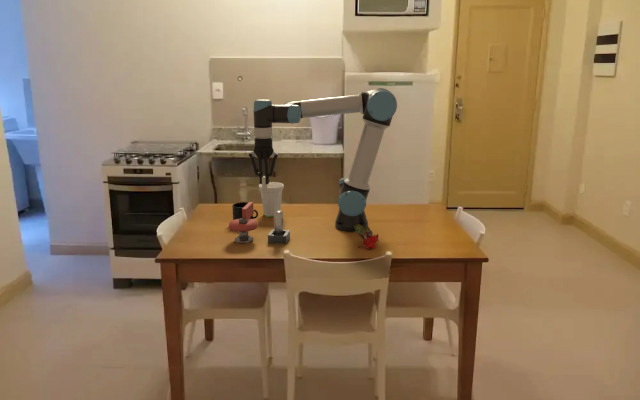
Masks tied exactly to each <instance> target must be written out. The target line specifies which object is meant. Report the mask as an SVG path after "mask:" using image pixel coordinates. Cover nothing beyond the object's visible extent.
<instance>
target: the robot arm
mask: <svg viewBox="0 0 640 400" xmlns="http://www.w3.org/2000/svg"><path fill="white" fill-rule="evenodd" d="M397 108H398V102H397V98H396V97H395V95H394V94H393V93H392V92H391V91H390V90H388V89H386V88H381V87H379V88H375V89H371V90H367V91H366V90H364V91H360V92H359V93H358V94H352V95H343V96H336V97H335V96H334V97H325V98H316V99H315V98H313V99H308V100H307V99H306V100H297V101H292V100H291V101H287V102H285V103H283V104H273V102H272V100H271V99H263V98H262V99H256V100H254V101H253V111H252V112H253V131H254V132H253V133H254V135H253V136H254V139H253V140H254V148H253V151H251V152H249V153H248V157H249V158H250V160H251V165H252V167H253V171H254V174H255V176H258V177H259V184H262V192H266V191H267V184H269V182H270V177H272V176H273V175H274V171H275V168H276V163H277V159H278V157H279V156H280V153H278V152H276V151H275V150H274V148H273V137H272V136H273V124H291V125H292V124H299V123H300V122H301V119H307V118H316V117H318V118H319V117H328V116H336V115H345V114H357V113H358V114H359V113H360V114H362V120H363V122H364V125H363V128H362V131H361V135H360V138H359V142H358V145H357V148H356V152H355V155H354V158H353V162H352V165H351V169H350V172H349V174H348V176H347V177H342V178H340V179H339V180H338V181H339V182H338V188H339V189H338V199H337V205H338V212H337V216H336V218H335V225H334V226H335V227H334V228H335V229H338V230H339V231H343V232H354V233H355V232H356V231H355V229H354V226H357V225H359V224H360V225H362V226H363V227H364V229H365V227H367V228H369V223H368V219H367V218H368V217H367V215H366V212H365V209H366V208H367V198H368V197H369V193H370V190H371V187H370V185H369V181H370V177H371V174H372V171H373V169H374V165H375V161H376V158H377V155H378V152H379V149H380V146H381V143H382V139H383V137H384V133H385V130H386V129H388V128H390V126H391V124H392V120H393V117H394V115H395V113H396V112H397ZM256 157H257V158H258V162H257V159H256ZM271 157H272V161H271V166H270V158H271Z"/></svg>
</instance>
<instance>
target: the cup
mask: <svg viewBox="0 0 640 400" xmlns="http://www.w3.org/2000/svg"><path fill="white" fill-rule="evenodd" d="M284 188H285V185H284V183H282V182H280V181H279V182H278V181H269V184H267V191H266V192H262V184H260V183H259V184H258V190H259V192H260V197H261V204H262V211H263V216H264V217H266V218H274V211H276V210H281V207H282V198H283V197H282V196H283V190H284Z"/></svg>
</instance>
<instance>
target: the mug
mask: <svg viewBox="0 0 640 400" xmlns="http://www.w3.org/2000/svg"><path fill="white" fill-rule="evenodd" d="M248 203H249V201H248V202H247V201H246V202H245V201H242V202H241V201H240V202H236V203H233V204H232V220H236V219H240V218H242V208H243V207H245V206H246V205H247V204H248ZM253 210H254V213H256V215H255V216H254V214H253V215H252V216H251V217H250V218H249V219H254V220H256V219H257V218H258V217H259V212H258V210H256V209H254V208H253Z"/></svg>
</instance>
